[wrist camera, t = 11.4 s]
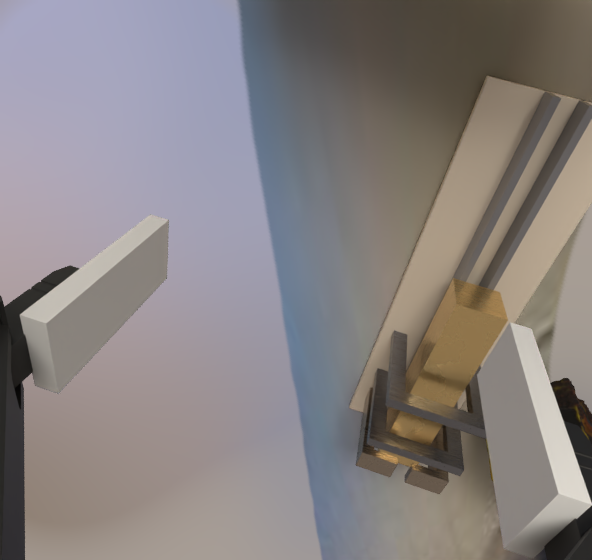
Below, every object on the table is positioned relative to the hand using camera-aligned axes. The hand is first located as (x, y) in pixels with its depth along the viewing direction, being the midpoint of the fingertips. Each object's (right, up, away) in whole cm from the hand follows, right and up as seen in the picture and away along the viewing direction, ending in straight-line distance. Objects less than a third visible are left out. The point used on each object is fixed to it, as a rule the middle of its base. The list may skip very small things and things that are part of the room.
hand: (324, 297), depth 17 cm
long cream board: (+16, -1, +28) cm, 32 cm away
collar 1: (+14, -6, +32) cm, 36 cm away
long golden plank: (+13, -9, +30) cm, 34 cm away
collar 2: (+13, -11, +35) cm, 39 cm away
